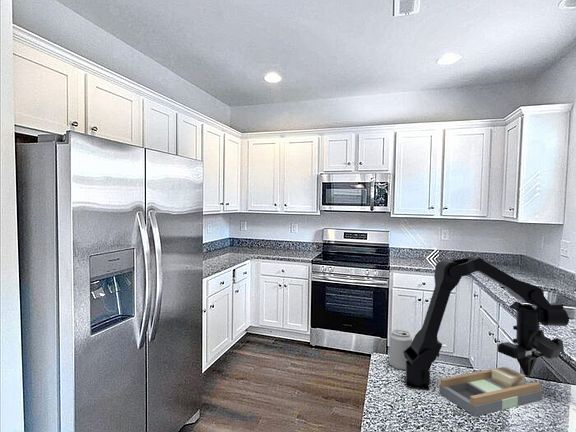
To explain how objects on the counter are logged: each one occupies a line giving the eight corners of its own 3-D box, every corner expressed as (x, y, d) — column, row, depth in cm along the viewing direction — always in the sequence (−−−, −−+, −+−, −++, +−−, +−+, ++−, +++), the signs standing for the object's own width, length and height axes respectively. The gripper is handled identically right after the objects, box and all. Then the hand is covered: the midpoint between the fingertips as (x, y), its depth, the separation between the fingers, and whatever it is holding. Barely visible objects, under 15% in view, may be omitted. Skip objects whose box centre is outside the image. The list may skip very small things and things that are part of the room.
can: (413, 372, 111) (413, 336, 111) (390, 369, 112) (390, 334, 112) (409, 362, 118) (410, 329, 118) (388, 360, 120) (388, 327, 120)
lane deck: (474, 416, 86) (475, 399, 86) (439, 393, 97) (439, 378, 97) (541, 399, 95) (541, 384, 95) (502, 380, 106) (502, 366, 106)
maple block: (510, 390, 95) (511, 378, 95) (491, 380, 100) (491, 369, 100) (525, 387, 97) (525, 375, 97) (505, 378, 102) (505, 366, 102)
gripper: (534, 336, 91) (533, 393, 91) (577, 330, 97) (576, 383, 97) (496, 324, 101) (496, 375, 101) (537, 319, 108) (537, 367, 107)
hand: (527, 375), depth 101 cm, fingers closed
